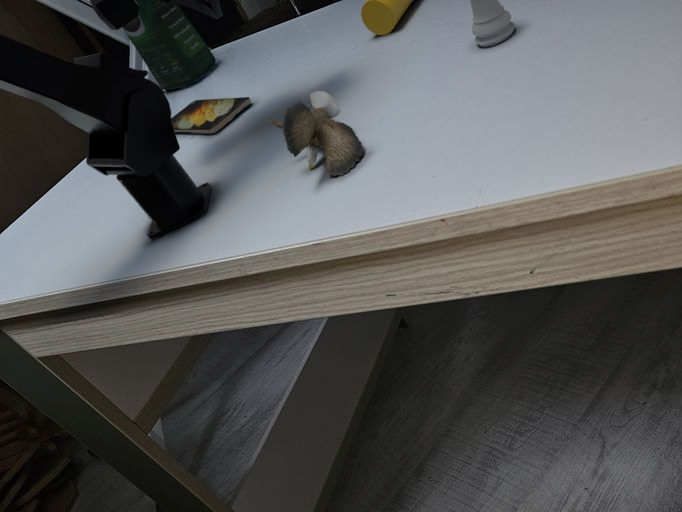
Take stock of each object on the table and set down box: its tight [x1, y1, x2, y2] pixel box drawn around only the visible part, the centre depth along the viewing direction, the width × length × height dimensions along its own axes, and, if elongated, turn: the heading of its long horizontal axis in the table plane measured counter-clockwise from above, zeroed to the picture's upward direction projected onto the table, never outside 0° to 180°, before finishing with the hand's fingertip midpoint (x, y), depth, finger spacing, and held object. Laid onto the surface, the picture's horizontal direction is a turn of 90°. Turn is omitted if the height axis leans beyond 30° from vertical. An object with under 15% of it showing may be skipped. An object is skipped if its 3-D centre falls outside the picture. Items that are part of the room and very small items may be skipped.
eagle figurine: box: [268, 90, 363, 177], centre depth 65 cm, size 8×7×9 cm
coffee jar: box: [121, 0, 217, 91], centre depth 103 cm, size 10×8×19 cm
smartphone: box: [171, 96, 252, 134], centre depth 91 cm, size 7×1×15 cm
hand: (218, 14), depth 78 cm, fingers closed
